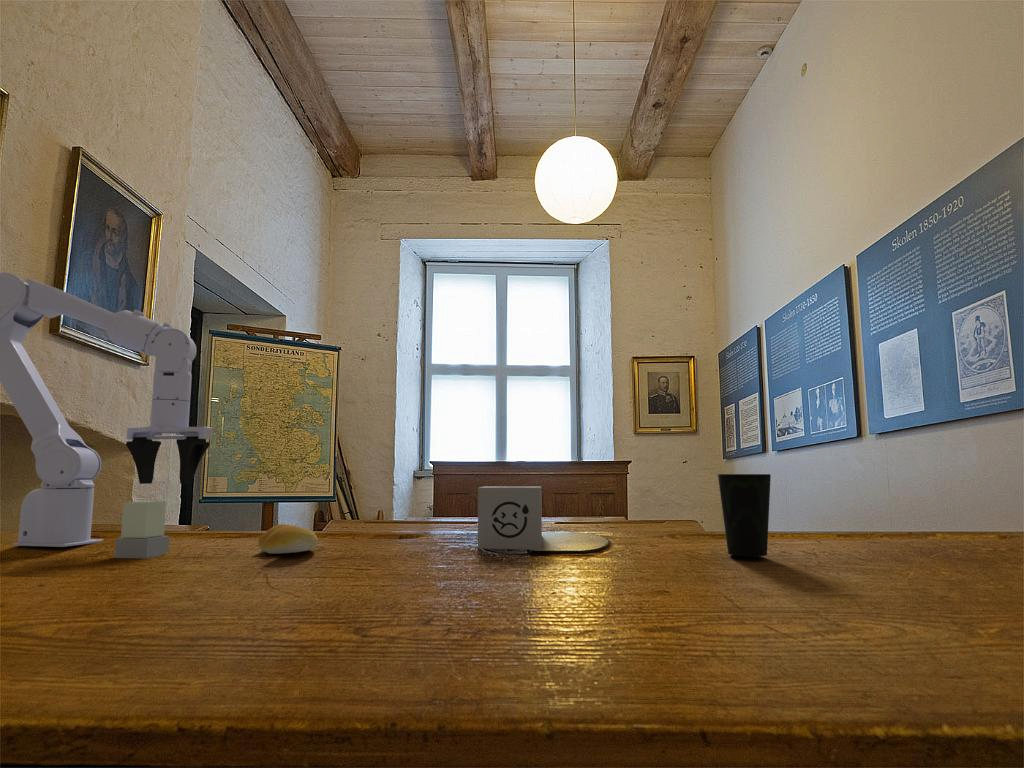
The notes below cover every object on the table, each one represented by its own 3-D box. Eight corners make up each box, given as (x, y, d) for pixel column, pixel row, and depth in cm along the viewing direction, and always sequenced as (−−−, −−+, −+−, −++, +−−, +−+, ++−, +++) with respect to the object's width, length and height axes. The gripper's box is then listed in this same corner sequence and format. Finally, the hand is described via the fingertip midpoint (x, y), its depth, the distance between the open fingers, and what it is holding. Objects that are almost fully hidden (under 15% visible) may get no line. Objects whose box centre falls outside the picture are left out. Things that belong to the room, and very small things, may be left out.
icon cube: (541, 545, 117) (541, 486, 118) (541, 552, 107) (540, 487, 108) (483, 545, 117) (484, 486, 118) (477, 551, 107) (478, 487, 108)
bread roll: (273, 555, 97) (272, 527, 98) (252, 552, 104) (252, 526, 105) (327, 549, 102) (327, 522, 103) (304, 546, 109) (304, 521, 110)
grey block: (114, 559, 98) (116, 537, 99) (137, 555, 103) (139, 534, 104) (146, 560, 98) (147, 538, 98) (168, 556, 103) (169, 535, 103)
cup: (773, 552, 105) (769, 474, 107) (775, 558, 98) (771, 474, 100) (721, 550, 108) (718, 474, 109) (719, 556, 100) (716, 474, 102)
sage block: (120, 537, 99) (123, 502, 100) (141, 534, 103) (142, 501, 104) (144, 537, 98) (146, 502, 99) (164, 535, 102) (165, 501, 103)
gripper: (115, 399, 111) (108, 483, 109) (193, 397, 108) (188, 484, 106) (146, 404, 118) (141, 483, 116) (221, 402, 115) (216, 483, 113)
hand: (165, 483), depth 111 cm, fingers open, 7 cm apart
